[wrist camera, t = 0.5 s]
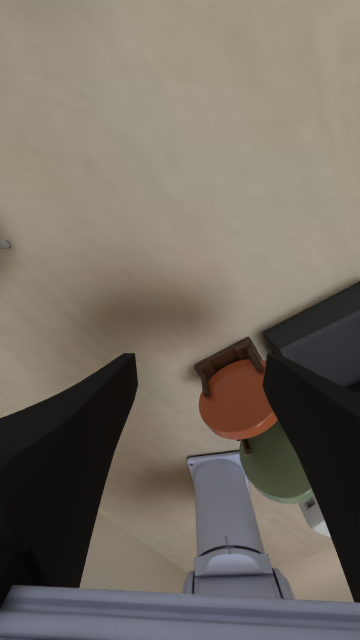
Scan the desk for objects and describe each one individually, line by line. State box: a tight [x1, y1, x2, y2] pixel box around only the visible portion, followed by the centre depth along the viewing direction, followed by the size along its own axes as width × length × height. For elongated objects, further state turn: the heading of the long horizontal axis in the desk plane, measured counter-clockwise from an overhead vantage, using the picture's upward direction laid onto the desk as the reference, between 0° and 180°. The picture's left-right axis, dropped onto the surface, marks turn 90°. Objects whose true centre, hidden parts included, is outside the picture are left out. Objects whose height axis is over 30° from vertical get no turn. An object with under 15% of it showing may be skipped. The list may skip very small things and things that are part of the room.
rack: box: [194, 337, 264, 454], centre depth 21 cm, size 12×7×5 cm, turn 32°
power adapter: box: [298, 496, 331, 538], centre depth 25 cm, size 11×5×6 cm, turn 64°
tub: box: [263, 282, 360, 394], centre depth 19 cm, size 12×11×4 cm
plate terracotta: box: [199, 359, 278, 440], centre depth 17 cm, size 1×8×8 cm, turn 122°
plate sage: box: [239, 421, 314, 504], centre depth 19 cm, size 1×8×8 cm, turn 122°
